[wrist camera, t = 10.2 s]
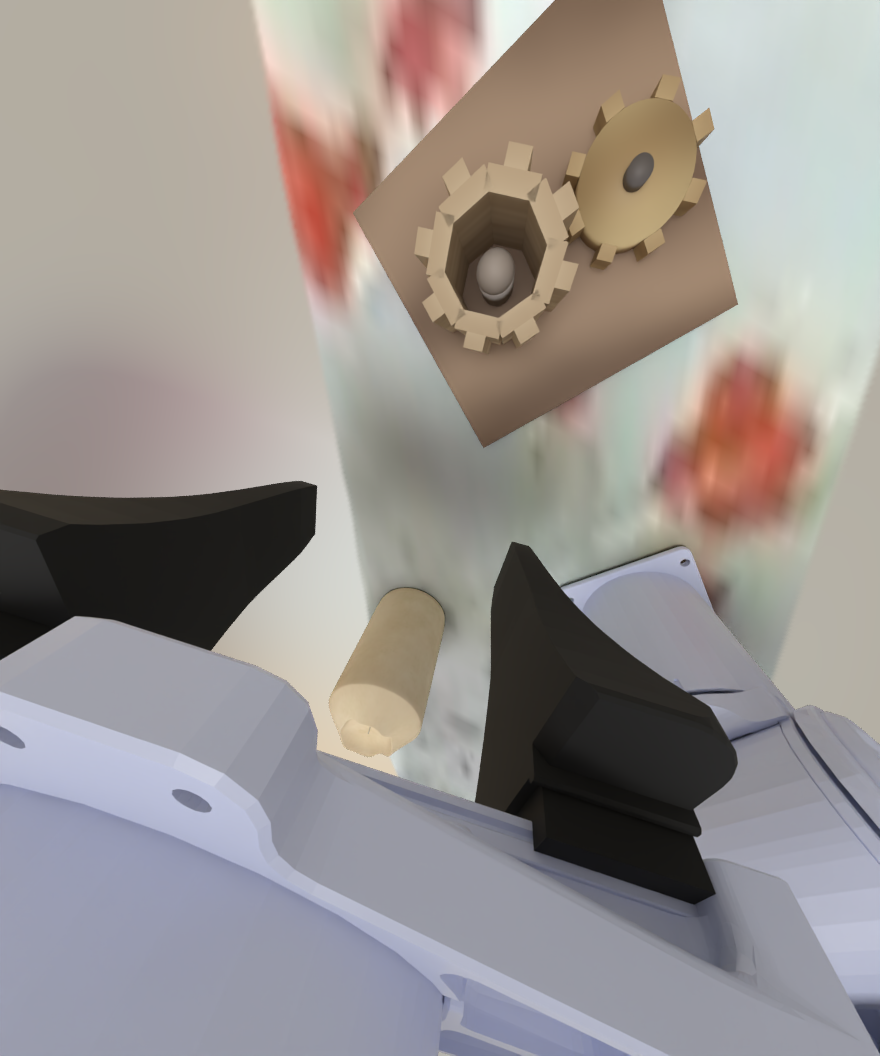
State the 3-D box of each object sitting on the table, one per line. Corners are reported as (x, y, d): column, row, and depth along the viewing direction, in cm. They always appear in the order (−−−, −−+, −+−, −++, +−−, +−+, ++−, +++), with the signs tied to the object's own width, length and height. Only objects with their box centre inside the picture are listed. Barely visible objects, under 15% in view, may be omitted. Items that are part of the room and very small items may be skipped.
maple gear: (577, 308, 15) (607, 286, 10) (476, 376, 17) (464, 381, 12) (525, 178, 13) (534, 86, 9) (419, 270, 15) (384, 232, 11)
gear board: (723, 308, 14) (814, 285, 10) (484, 444, 19) (478, 467, 15) (629, -53, 11) (708, -319, 7) (361, 221, 15) (306, 168, 11)
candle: (400, 574, 24) (341, 693, 16) (459, 613, 25) (435, 748, 16) (367, 615, 27) (300, 738, 18) (421, 650, 28) (382, 784, 19)
